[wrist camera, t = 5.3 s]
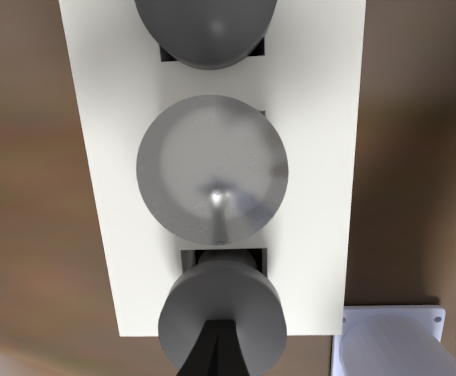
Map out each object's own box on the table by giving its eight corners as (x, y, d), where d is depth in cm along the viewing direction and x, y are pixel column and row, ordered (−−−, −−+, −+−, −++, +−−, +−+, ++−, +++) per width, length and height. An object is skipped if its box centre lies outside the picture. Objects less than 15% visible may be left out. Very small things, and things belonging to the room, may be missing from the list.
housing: (321, 293, 20) (341, 334, 16) (142, 295, 20) (120, 336, 16) (337, -49, 14) (374, -113, 10) (94, -29, 15) (43, -82, 11)
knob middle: (271, 204, 16) (287, 243, 11) (175, 207, 16) (146, 247, 11) (271, 102, 14) (289, 89, 9) (165, 108, 15) (125, 99, 9)
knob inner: (272, 308, 17) (286, 384, 12) (186, 309, 18) (165, 384, 13) (271, 227, 16) (287, 275, 11) (178, 229, 16) (150, 278, 11)
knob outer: (266, 80, 16) (280, 58, 11) (172, 85, 16) (141, 67, 11) (265, -33, 14) (280, -120, 9) (161, -25, 15) (121, -104, 10)
